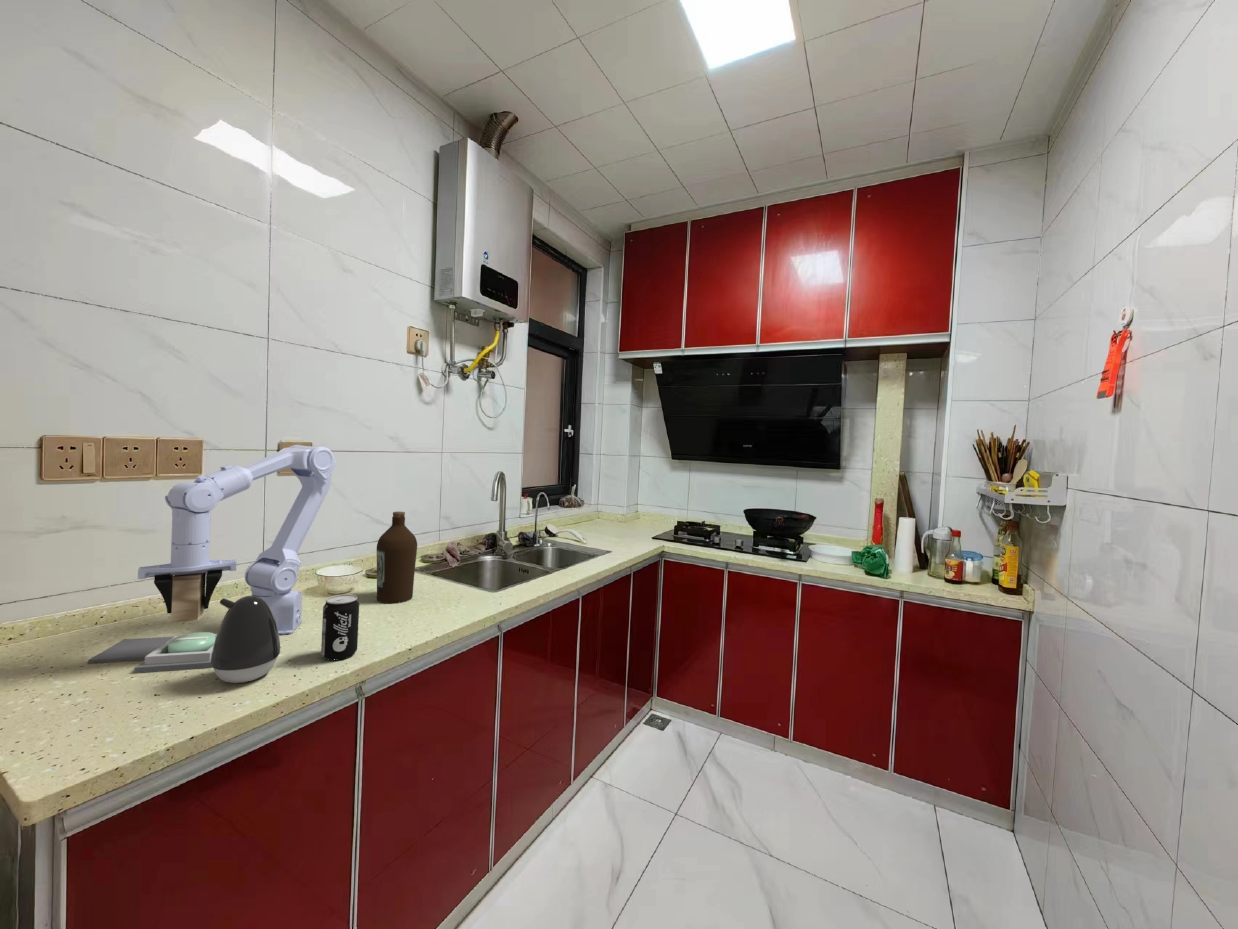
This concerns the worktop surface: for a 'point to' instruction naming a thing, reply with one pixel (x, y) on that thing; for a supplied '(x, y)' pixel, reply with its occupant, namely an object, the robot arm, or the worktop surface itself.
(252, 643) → the pump dispenser
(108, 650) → the mat
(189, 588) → the wooden rectangular block
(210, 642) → the button
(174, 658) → the switch panel
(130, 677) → the worktop surface
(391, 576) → the olive oil
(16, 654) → the worktop surface
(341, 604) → the beverage can
